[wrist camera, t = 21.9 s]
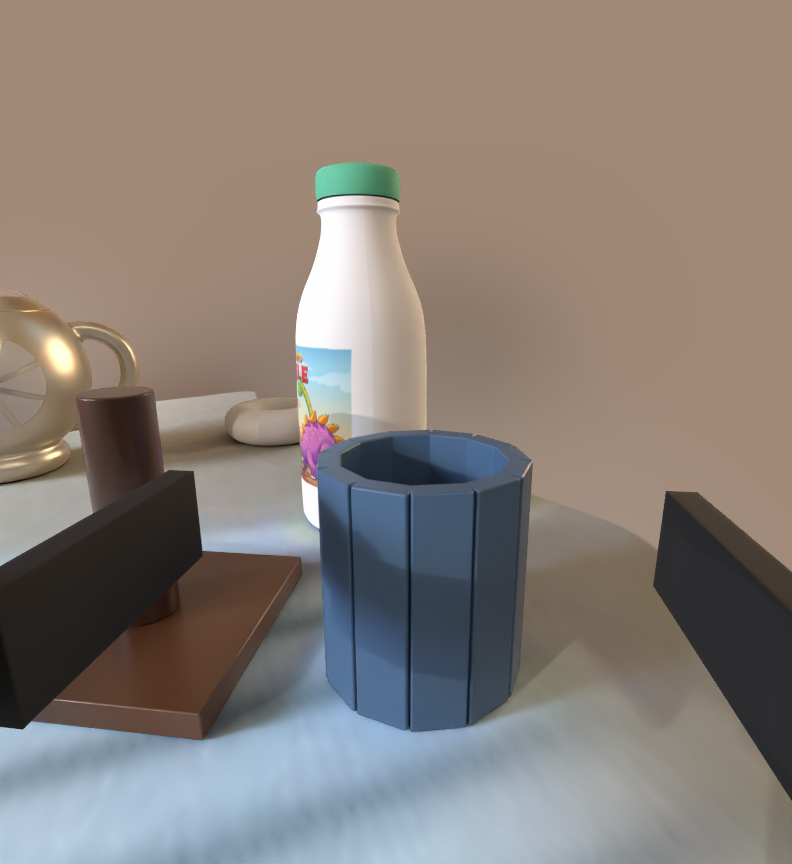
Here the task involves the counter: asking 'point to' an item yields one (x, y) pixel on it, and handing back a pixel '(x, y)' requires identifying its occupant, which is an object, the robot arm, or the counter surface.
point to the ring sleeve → (423, 573)
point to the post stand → (166, 600)
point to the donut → (264, 421)
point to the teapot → (45, 382)
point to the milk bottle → (357, 322)
